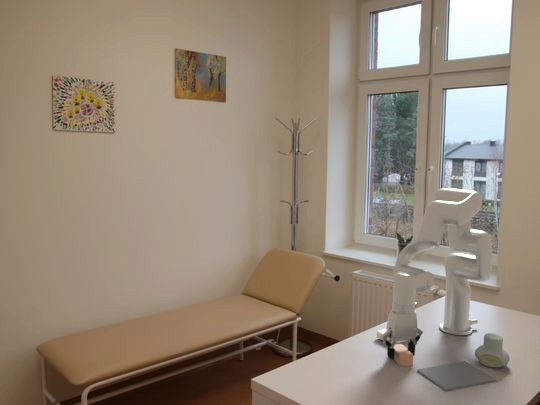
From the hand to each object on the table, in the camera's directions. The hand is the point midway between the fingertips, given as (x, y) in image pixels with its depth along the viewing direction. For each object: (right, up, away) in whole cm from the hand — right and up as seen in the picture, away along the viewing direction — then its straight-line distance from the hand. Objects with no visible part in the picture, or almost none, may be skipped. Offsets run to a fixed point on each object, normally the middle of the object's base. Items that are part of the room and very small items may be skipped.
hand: (401, 355), depth 174 cm
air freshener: (+31, -2, -2) cm, 31 cm away
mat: (+15, -3, -11) cm, 19 cm away
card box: (0, -2, 0) cm, 2 cm away
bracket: (+3, 0, +19) cm, 19 cm away
